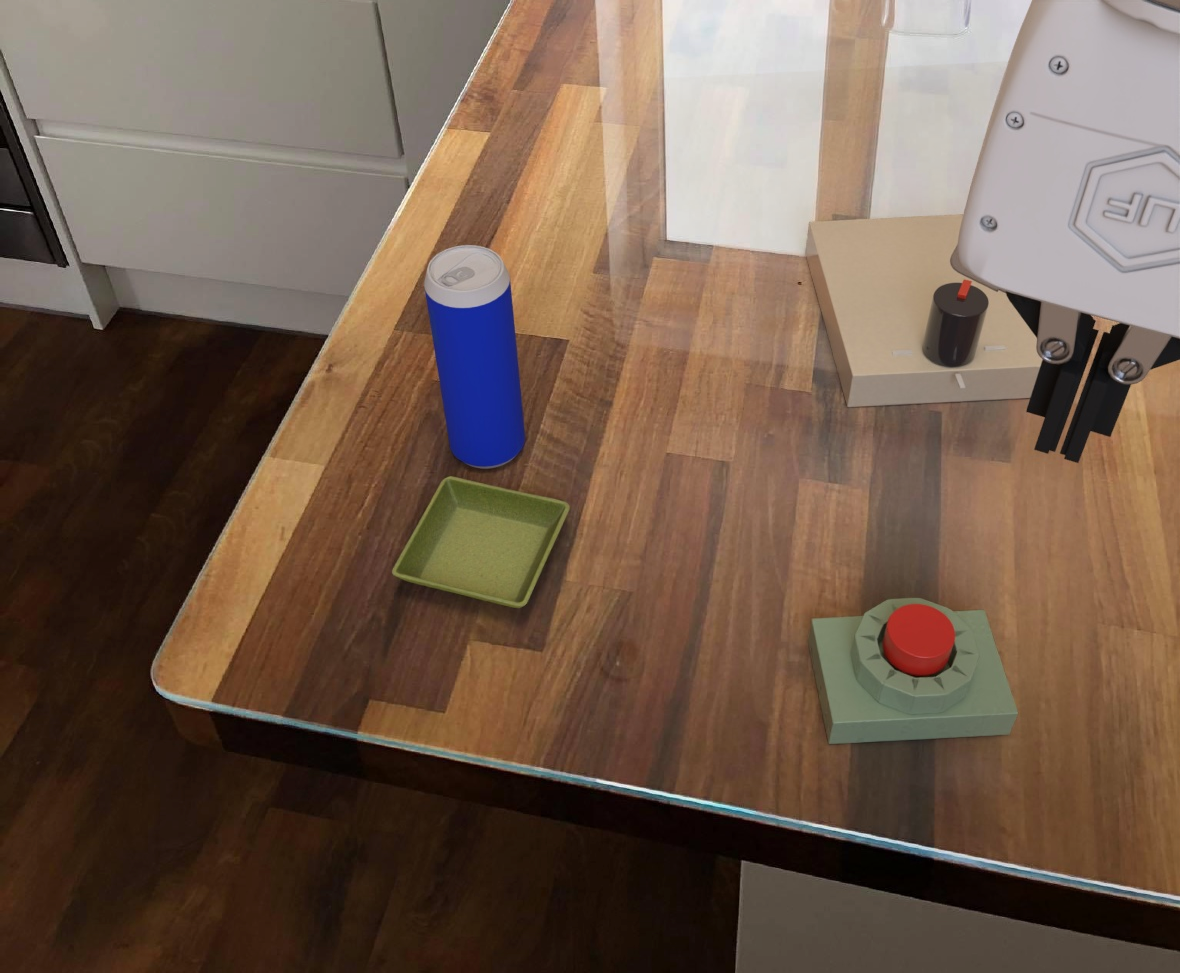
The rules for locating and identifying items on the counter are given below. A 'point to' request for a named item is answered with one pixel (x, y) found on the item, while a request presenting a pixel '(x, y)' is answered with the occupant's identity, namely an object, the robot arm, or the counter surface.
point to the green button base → (908, 681)
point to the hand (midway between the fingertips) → (1065, 431)
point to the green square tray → (482, 541)
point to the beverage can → (476, 354)
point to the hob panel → (908, 314)
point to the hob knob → (955, 324)
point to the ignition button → (918, 639)
